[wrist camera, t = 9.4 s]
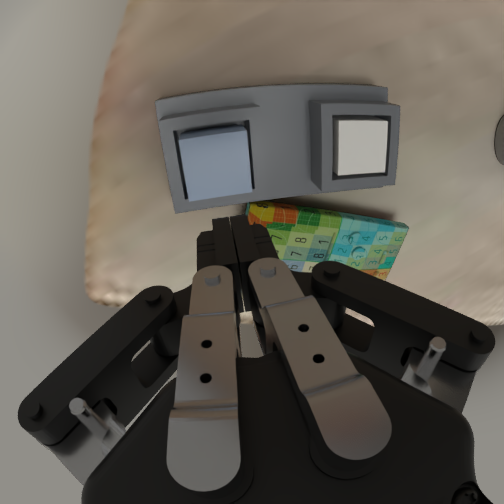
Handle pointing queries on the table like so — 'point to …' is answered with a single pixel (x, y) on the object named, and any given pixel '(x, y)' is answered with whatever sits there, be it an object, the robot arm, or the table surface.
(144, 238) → the table surface
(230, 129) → the blue key
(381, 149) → the white key
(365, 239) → the puzzle game
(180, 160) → the grey plastic block
